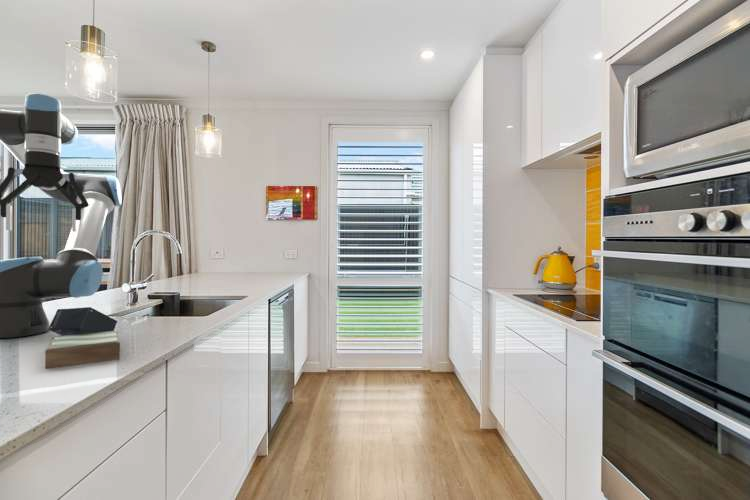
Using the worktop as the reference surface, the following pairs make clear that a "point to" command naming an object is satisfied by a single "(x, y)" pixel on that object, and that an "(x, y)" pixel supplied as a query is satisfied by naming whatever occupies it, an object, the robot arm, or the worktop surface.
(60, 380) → the worktop surface
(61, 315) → the small box
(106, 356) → the base block
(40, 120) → the robot arm
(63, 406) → the worktop surface
